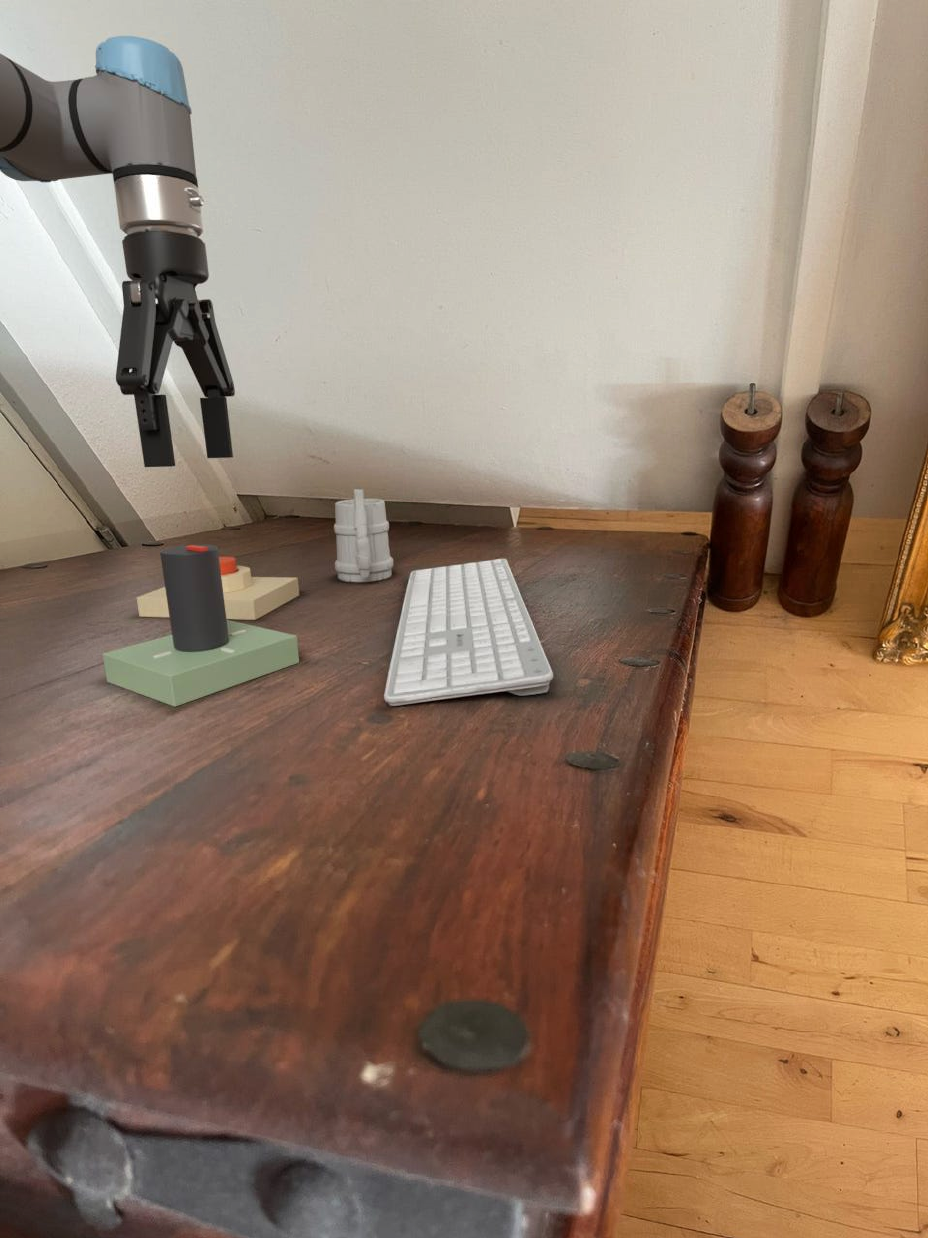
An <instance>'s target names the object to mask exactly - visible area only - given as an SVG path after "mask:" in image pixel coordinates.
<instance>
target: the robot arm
mask: <svg viewBox="0 0 928 1238" xmlns="http://www.w3.org/2000/svg"><path fill="white" fill-rule="evenodd" d="M94 67H95V73H96V75H93V76H87V77H86V76H85V77H83V78H78V79H69V80H59V81H50V80H47V79H44V78H42V77H41V76H39V75H37V74H36V73H34V72H32V71H31V70H29V69H28V68H26V67H23V65H21V64H19V63H18V62H16V61H14V60H12V59H10V58H8V57H7V56H6V55H4V54H2V53H0V172H1V173H2V174H3V175H4V176H6V177H8V178H10V179H12V180H14V181H19V182H40V183H51V182H57V181H60V180H66V179H76V178H85V177H93V176H100V175H101V176H103V175H110V174H111V175H112V179H113V185H114V193H115V202H116V208H117V217H118V225H119V229H120V230H121V231H122V232H123V233H124V234H125V236H124V237H123V239H122V240H121V241H122V242H121V245H122V251H123V258H124V264H125V272H126V276H127V277H128V278H129V280H123V281H122V283H121V290H122V301H123V309H122V319H121V326H120V335H119V345H118V353H117V362H116V371H115V382H116V384H117V386H118V387H119V389H120V392H121V394H122V395H124V396H133V398H134V404H135V410H136V411H135V412H136V417H137V425H138V432H139V439H140V446H141V452H142V459H143V465H144V466H143V467H144V468H166V467H175V466H176V460H175V459H176V458H175V452H174V445H173V444H174V443H173V438H172V437H173V436H172V431H171V423H170V416H169V415H170V414H169V409H168V408H169V407H168V400H167V394H159V393H160V391H161V387H162V383H163V381H164V376H165V372H166V368H167V366H168V365H167V364H168V361H169V357H170V355H171V350H172V347H173V343H174V345H176V346H177V347H178V348H181V350H182V352H183V353H184V356H185V358H186V360H187V362H188V365H189V366H190V368H191V370H192V373H193V375H194V377H195V379H196V381H197V383H198V386H199V388H200V390H201V392H202V394H203V396H204V397H199V403H200V410H201V418H202V419H201V420H202V426H203V435H204V442H205V451H206V458H207V459H229V458H234V453H233V444H232V436H231V427H230V426H231V425H230V418H229V409H228V400H227V397H235V395H236V389H235V383H234V380H233V376H232V373H231V370H230V366H229V363H228V359H227V357H226V353H225V350H224V347H223V346H224V345H223V343H222V340H221V337H220V333H219V330H218V326H217V322H216V318H215V312H214V304H213V301H212V300H211V299H210V298H207V299H205V298H204V299H198V296H197V291H196V288H197V286H198V285H201V284H204V283H206V282H207V281H208V280H209V277H210V274H209V264H208V256H207V248H206V243H205V242H204V241H203V240H202V239H201V238H199V237H201V236H202V234H203V233H204V227H203V218H202V210H201V208H202V207H203V206H204V205H205V201H204V198H203V197H202V195H200V193H199V184H198V183H199V182H198V178H197V169H196V158H195V148H194V139H193V130H192V129H193V128H192V119H191V115H192V108H191V105H190V102H189V96H188V91H187V85H186V78H185V72H184V67H183V65H182V63H181V61H180V59H179V57H177V55H176V53H174V52H172V51H171V50H170V49H169V48H168V47H166V46H165V45H163V44H161V43H159V42H157V41H154V40H152V39H148V38H145V37H140V36H133V35H118V36H110V37H108V38H107V39H106V40H105V41H101V42H100V43H99V44H98V45H97V47H96V49H95V65H94ZM130 370H131V371H130Z"/></svg>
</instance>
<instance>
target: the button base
mask: <svg viewBox="0 0 928 1238" xmlns="http://www.w3.org/2000/svg"><path fill="white" fill-rule="evenodd" d="M236 567H237V572H236V573H232V574H227V575H221V578H222V586H223V594H224V603H225V611H226V619H227V620H240V621H241V620H243V621H256V620H259V619H260V618H262V617H263V616H265V615H267V614H269V613H270V612H272V611H274V610H276V609H278V608H280V607H281V606H283V605H285V604H286V603H287V604H288V602H290V601H292V600H294V599H296V598H298V597H299V596H300V587H299V579H298V577H288V576H287V577H283V576H281V577H280V576H279V577H278V576H277V577H276V576H252V575H251V574H252V573H251V568H250V567H248V566H243V565H236ZM136 602H137V603H136V604H137V609H138V610H137V611H138V616H139V617H140V618H168V619H170V617H169V610H168V603H167V596H166V589H165V586H163V587H161V588H158V589H156V590H153V591H149V592H148V593H147V592H146V593H145V594H142V595H140V596H136Z"/></svg>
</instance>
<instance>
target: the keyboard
mask: <svg viewBox="0 0 928 1238" xmlns="http://www.w3.org/2000/svg"><path fill="white" fill-rule="evenodd" d="M553 679H554V672H553V669H552V667H551V665H550V662H549V660H548V657H547V655H546V652H545V651H544V648H543V646H542V643H541V640H540V638H539V636H538V633H537V631H536V628H535V626H534V623H533V620H532V619H531V616H530V613H529V611H528V609H527V606H526V603H525V602H524V599H523V597H522V594H521V592H520V589H519V586H518V584H517V582H516V579H515V577H514V575H513V572H512V570H511V567H510V565H509V562H508V560H507V558H497V559H491V560H484V561H483V560H481V561H477V562H468V563H462V564H461V563H460V564H453V565H446V566H439V567H432V568H431V567H430V568H424V569H423V568H422V569H416V570H412V571H411V572H410V574H409V577H408V581H407V585H406V589H405V594H404V598H403V603H402V607H401V613H400V618H399V622H398V626H397V630H396V635H395V639H394V646H393V649H392V655H391V659H390V663H389V669H388V673H387V677H386V684H385V689H384V692H383V693H384V694H383V699H384V701H385V702H386V703H387V704H388V705H389V706H390V707H397V706H404V705H413V704H418V703H426V702H434V701H440V700H449V699H456V698H457V699H458V698H462V697H463V698H465V697H471V696H478V695H485V694H494V693H500V692H501V693H502V692H507V693H510V694H512V695H515V696H519V697H521V696H522V697H523V696H530V695H537V694H538V695H540V694H544V693H545V694H546V693H547V692H548V691H549V689H550V683H551V681H552V680H553Z"/></svg>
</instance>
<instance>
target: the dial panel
mask: <svg viewBox="0 0 928 1238" xmlns="http://www.w3.org/2000/svg"><path fill="white" fill-rule="evenodd" d="M227 627H228V635H229V641H228V643H226V644H225V645H223V646H220V647H217V648H214V649H209V650H203V651H180V650H177V649H175V648H174V644H173V638H172V634H170V635H169V634H168V635H166V636H162V637H159V638H154V639H150V640H147V641H143V642H140V643H137V644H133V645H129V646H126V647H122V648H117V649H114V650H110V651H107V652H104V653H102V659H103V665H104V671H105V677H106V682H107V683H108V684H112V685H114V686H117V687H120V688H123V689H125V690H127V691H130V692H133V693H136V694H138V695H141V696H145V697H147V698H150V699H152V700H155V701H157V702H161V703H163V704H166V705H169V706H171V707H173V708H175V707H178V706H181V705H184V704H187V703H190V702H192V701H195V700H198V699H202V698H204V697H207V696H210V695H212V694H215V693H218V692H221V691H224V690H227V689H229V688H232V687H235V686H238V685H241V684H244V683H246V682H249V681H252V680H255V679H257V678H261V677H263V676H266V675H268V674H272V673H274V672H277V671H280V670H283V669H285V668H288V667H291V666H294V665H297V664H299V663H300V656H299V644H298V637H297V635H296V634H291V633H287V632H283V631H279V630H273V629H269V628H265V627H261V626H257V625H251V624H247V623H243V622H239V621H235V620H231V619H227Z"/></svg>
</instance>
